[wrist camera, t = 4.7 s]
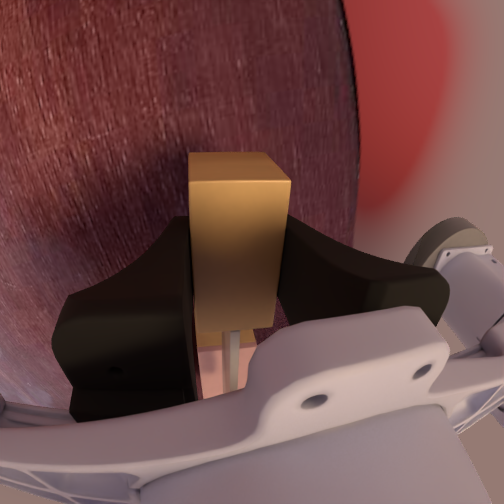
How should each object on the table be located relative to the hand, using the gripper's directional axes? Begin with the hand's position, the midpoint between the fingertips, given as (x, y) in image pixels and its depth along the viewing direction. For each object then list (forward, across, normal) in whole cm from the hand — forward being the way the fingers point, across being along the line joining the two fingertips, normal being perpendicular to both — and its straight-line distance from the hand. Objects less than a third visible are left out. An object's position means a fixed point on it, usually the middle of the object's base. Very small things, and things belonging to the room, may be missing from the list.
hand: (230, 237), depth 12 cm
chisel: (+1, 0, +4) cm, 5 cm away
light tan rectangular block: (+7, 0, +14) cm, 16 cm away
